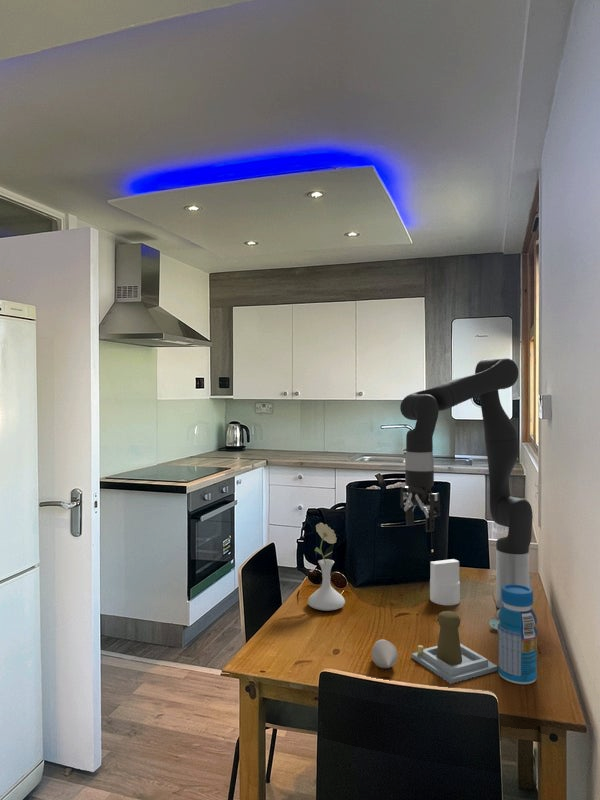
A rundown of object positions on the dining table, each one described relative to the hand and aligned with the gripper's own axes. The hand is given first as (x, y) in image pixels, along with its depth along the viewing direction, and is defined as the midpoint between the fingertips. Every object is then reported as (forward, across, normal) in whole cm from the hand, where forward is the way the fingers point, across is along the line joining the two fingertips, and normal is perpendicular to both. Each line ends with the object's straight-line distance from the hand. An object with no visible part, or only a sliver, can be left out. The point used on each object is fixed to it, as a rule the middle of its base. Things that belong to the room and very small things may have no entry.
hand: (419, 528), depth 151 cm
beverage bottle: (+28, -29, -5) cm, 41 cm away
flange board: (+28, -18, +4) cm, 34 cm away
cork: (+27, -17, +5) cm, 33 cm away
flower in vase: (+28, +28, +14) cm, 42 cm away
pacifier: (+28, -9, -21) cm, 37 cm away
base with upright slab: (+28, +16, -22) cm, 39 cm away
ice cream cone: (+28, -13, +20) cm, 37 cm away
